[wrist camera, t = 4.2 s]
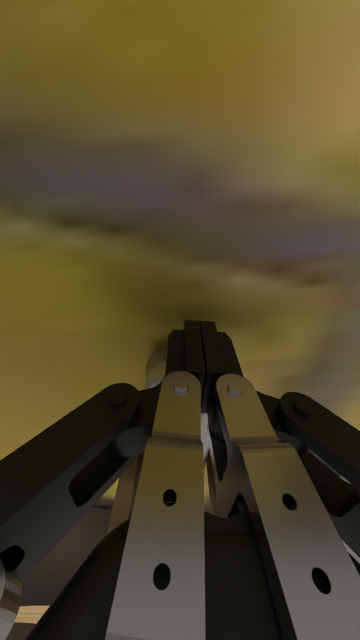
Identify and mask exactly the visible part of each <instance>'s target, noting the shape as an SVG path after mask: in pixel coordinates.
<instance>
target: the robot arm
mask: <svg viewBox="0 0 360 640" xmlns="http://www.w3.org/2000/svg"><path fill="white" fill-rule="evenodd" d="M201 413H206V414H207V417H208V424H207V430H206V431H207V438H208V444H209V449H210V455H211V460H212V466H213V472H214V477H215V483H216V508H217V516H215V515H212V514H210V513H207V512H204V456H203V442H202V441H201ZM308 449H310V450H311V451H313V452H314V453H315V454H316V455H317V456H319V457H320V458H321V459H322V460H323V461H325V462H326V463H327V464H328V465H329V466H331V467H332V468H333V469H334V470H335V471H337V472H338V473H339V474H340V475H341V476H343V477H344V478H345V479H346V480H347V481H349V482H350V483H351V484H350V483H347V482H346V481H344V480H343V479H341V478H340V477H339V476H338V475H336V474H335V473H334V472H333V471H332V470H331V469H329V468H328V467H327V466H326V465H325V464H323V463H322V462H321V461H320V460H319V459H317V458H316V457H315V456H314V455H313V454H312V453H310V452H309V451H308ZM143 452H145V454H144V459H143V464H142V468H141V473H140V478H139V482H138V487H137V492H136V496H135V501H134V506H133V510H132V515H131V518H130V519H128V520H126V521H125V522H123V523H122V524H120V525H119V526H117V527H116V528H115V529H113V530H112V531H111V532H110V533H109V534H107V536H105V538H103V540H102V541H101V542H100V543H99V544H98V545H97V546H96V547H95V548H94V550H93V551H92V552H91V553H90V555H89V556H88V557H87V558H86V560H85V561H84V562H83V564H82V565H81V566H80V568H79V569H78V570H77V572H76V573H75V574H74V576H73V577H72V578H71V579H70V581H69V582H68V583H67V585H66V586H65V587H64V589H63V590H62V591H61V592H60V594H59V595H58V596H57V598H56V599H55V600H54V602H53V603H52V604H51V606H50V607H49V608H48V609H47V611H46V612H45V613H44V615H43V616H42V617H41V619H40V620H39V621H38V622H37V624H36V625H35V626H34V628H33V629H32V630H31V632H30V633H29V635H28V636H27V637H26V638H25V639H24V640H360V564H359V563H358V562H357V561H356V560H355V559H354V558H353V557H352V556H351V555H350V554H349V553H348V552H347V550H346V548H345V546H344V544H343V542H342V540H343V541H344V542H345V543H346V544H347V545H348V546H349V547H350V548H351V549H352V550H353V551H354V552H355V553H356V554H357V555H358V557H360V431H359V430H357V429H356V428H354V427H353V426H351V425H350V424H349V423H347V422H346V421H344V420H343V419H341V418H340V417H338V416H337V415H335V414H334V413H332V412H331V411H329V410H328V409H326V408H325V407H323V406H322V405H320V404H319V403H317V402H316V401H314V400H313V399H311V398H310V397H308V396H306V395H304V394H301V393H297V392H288V393H285V394H284V395H283V396H282V397H281V399H278V398H275V397H271V396H268V395H265V394H262V393H260V392H258V391H256V390H255V388H254V386H253V385H252V383H251V382H250V381H249V380H247V379H246V378H244V377H243V374H242V371H241V368H240V365H239V362H238V359H237V356H236V354H235V350H234V347H233V344H232V340H231V338H230V337H229V336H228V335H227V334H226V333H225V332H217V329H216V325H215V322H209V321H200V322H199V321H191V320H184V330H173V331H172V332H171V333H170V334H169V338H168V350H167V360H166V371H165V376H164V378H163V380H162V381H161V382H160V383H159V384H158V385H156V386H155V387H152V388H149V389H145V390H141V391H138V390H137V389H136V388H135V387H134V386H132V385H130V384H127V383H117V384H113V385H110V386H108V387H107V388H105V389H104V390H102V391H101V392H99V393H98V394H96V395H95V396H93V397H92V398H90V399H89V400H88V401H86V402H85V403H83V404H82V405H80V406H79V407H77V408H76V409H75V410H73V411H72V412H70V413H69V414H67V415H66V416H64V417H63V418H61V419H60V420H59V421H57V422H56V423H54V424H53V425H51V426H50V427H48V428H47V429H45V430H44V431H43V432H41V433H40V434H38V435H37V436H35V437H34V438H32V439H31V440H30V441H28V442H27V443H25V444H24V445H22V446H21V447H19V448H18V449H16V450H15V451H14V452H12V453H11V454H9V455H8V456H6V457H5V458H3V459H2V460H0V640H5V639H6V637H7V635H8V634H9V632H10V630H11V627H12V626H13V624H14V621H15V619H16V616H17V613H18V610H19V607H20V602H21V595H22V585H21V583H22V581H23V580H24V579H25V578H26V577H27V576H28V575H29V574H30V573H31V572H32V571H33V570H34V568H35V567H36V566H37V565H38V564H39V563H40V562H41V561H42V560H43V559H44V558H45V557H46V556H47V555H48V553H49V552H50V551H51V550H52V549H53V548H54V547H55V546H56V545H57V544H58V543H59V542H60V540H61V539H62V538H63V537H64V536H65V535H66V534H67V533H68V532H69V531H70V530H71V529H72V528H73V527H74V525H75V524H76V523H77V522H78V521H79V520H80V519H81V518H82V517H83V516H84V515H85V514H86V513H87V511H88V510H89V509H90V508H91V507H92V506H93V505H94V504H95V503H96V502H97V501H98V500H99V499H100V497H101V496H102V495H103V494H104V493H105V492H106V491H107V490H108V489H109V488H110V487H111V486H112V485H113V483H114V482H115V481H116V480H117V479H118V478H119V477H120V476H121V475H122V474H123V473H124V472H125V471H126V469H127V468H128V467H129V466H130V465H131V464H132V463H133V462H134V461H135V460H136V459H137V457H138V456H139V455H140V453H143ZM341 539H342V540H341Z"/></svg>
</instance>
